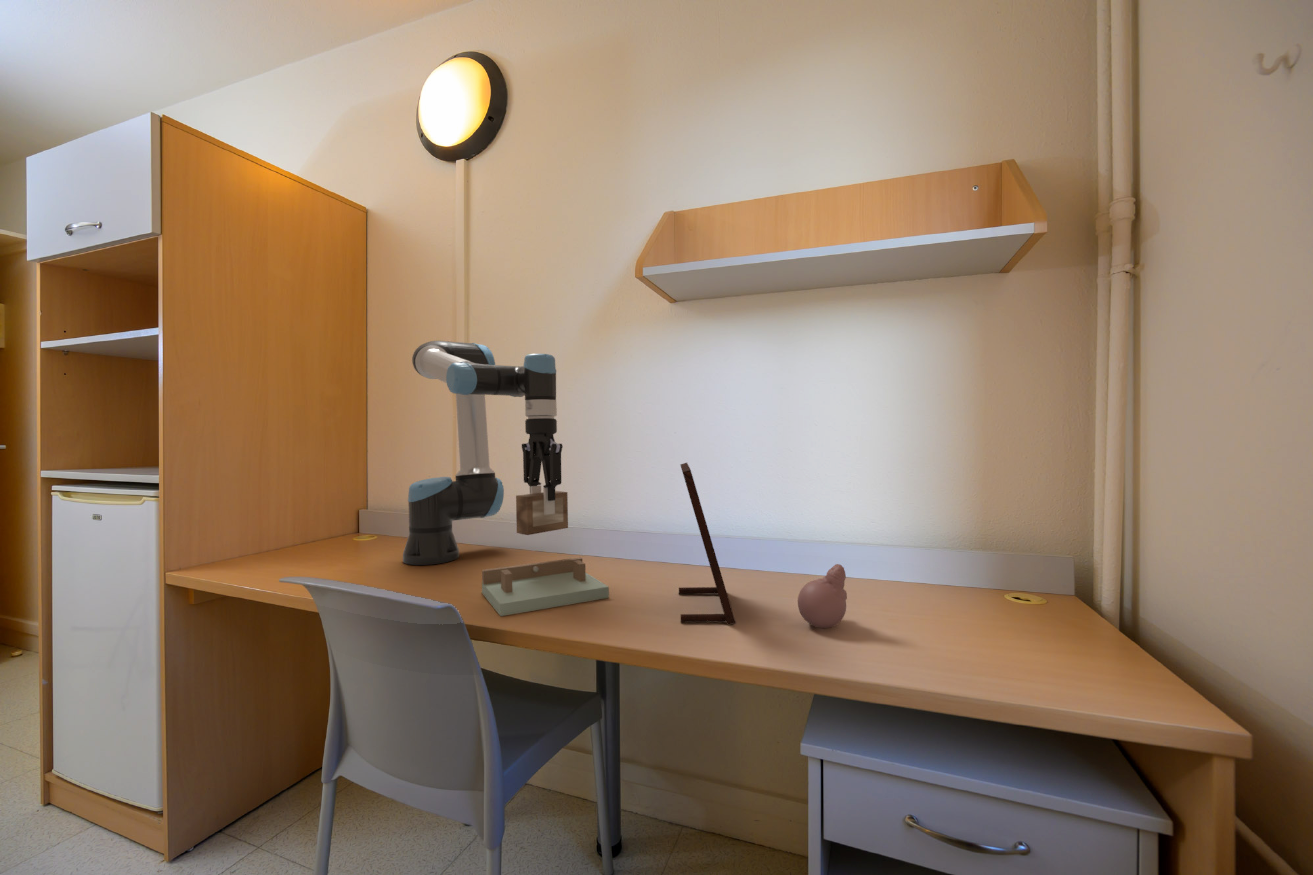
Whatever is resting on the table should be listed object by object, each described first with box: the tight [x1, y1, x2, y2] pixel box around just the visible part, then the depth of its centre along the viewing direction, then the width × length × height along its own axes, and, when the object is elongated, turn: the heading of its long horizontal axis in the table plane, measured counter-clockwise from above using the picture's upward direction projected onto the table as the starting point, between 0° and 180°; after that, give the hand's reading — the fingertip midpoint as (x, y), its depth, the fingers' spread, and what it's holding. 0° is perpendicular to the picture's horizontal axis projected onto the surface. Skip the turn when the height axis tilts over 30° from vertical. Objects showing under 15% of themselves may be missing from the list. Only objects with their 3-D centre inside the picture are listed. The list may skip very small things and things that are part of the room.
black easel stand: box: [678, 462, 736, 626], centre depth 117 cm, size 21×11×30 cm, turn 179°
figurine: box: [797, 563, 848, 629], centre depth 107 cm, size 9×11×12 cm
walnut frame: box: [515, 490, 569, 536], centre depth 136 cm, size 5×12×9 cm, turn 138°
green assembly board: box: [481, 556, 610, 617], centre depth 127 cm, size 18×24×6 cm
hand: (542, 512), depth 136 cm, fingers closed on walnut frame, 5 cm apart
